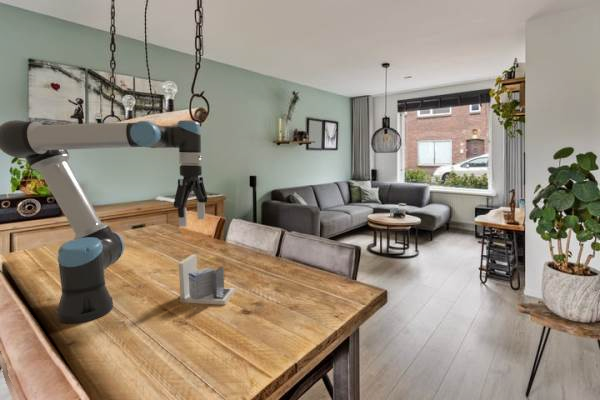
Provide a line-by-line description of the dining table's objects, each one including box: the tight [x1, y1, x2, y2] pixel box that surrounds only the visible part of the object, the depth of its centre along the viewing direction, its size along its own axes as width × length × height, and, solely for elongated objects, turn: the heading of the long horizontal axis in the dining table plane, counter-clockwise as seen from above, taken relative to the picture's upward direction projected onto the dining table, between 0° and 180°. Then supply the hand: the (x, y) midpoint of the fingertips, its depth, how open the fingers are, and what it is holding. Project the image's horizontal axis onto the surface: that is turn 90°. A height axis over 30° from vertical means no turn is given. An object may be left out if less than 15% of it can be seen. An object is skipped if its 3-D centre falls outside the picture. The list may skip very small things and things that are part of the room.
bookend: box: [213, 266, 230, 299], centre depth 114 cm, size 3×7×9 cm, turn 173°
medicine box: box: [189, 267, 216, 299], centre depth 114 cm, size 8×4×9 cm, turn 140°
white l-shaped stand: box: [178, 253, 236, 306], centre depth 115 cm, size 16×10×14 cm, turn 83°
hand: (192, 222), depth 119 cm, fingers open, 13 cm apart
